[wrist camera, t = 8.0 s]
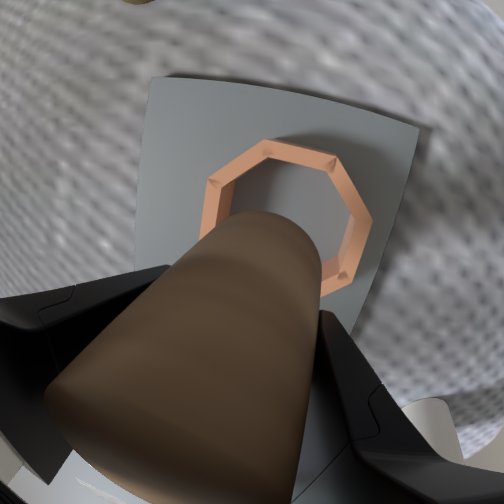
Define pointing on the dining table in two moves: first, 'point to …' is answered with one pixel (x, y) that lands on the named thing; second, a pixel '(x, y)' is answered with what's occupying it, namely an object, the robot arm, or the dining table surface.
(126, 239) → the dining table surface
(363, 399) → the robot arm
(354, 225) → the terracotta ring
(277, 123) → the slate board
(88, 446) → the walnut cylinder
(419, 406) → the white cup
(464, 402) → the dining table surface
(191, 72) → the dining table surface
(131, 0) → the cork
